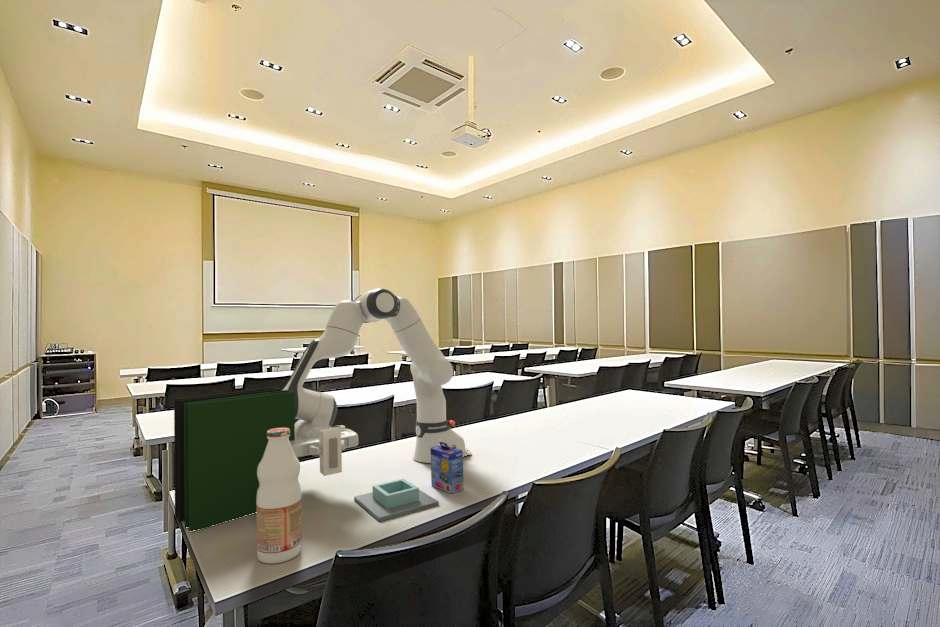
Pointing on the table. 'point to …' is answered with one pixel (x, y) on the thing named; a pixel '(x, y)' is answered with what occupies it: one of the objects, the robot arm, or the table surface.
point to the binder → (224, 451)
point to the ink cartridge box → (447, 468)
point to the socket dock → (395, 500)
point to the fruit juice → (278, 500)
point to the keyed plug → (330, 451)
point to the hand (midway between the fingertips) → (331, 449)
